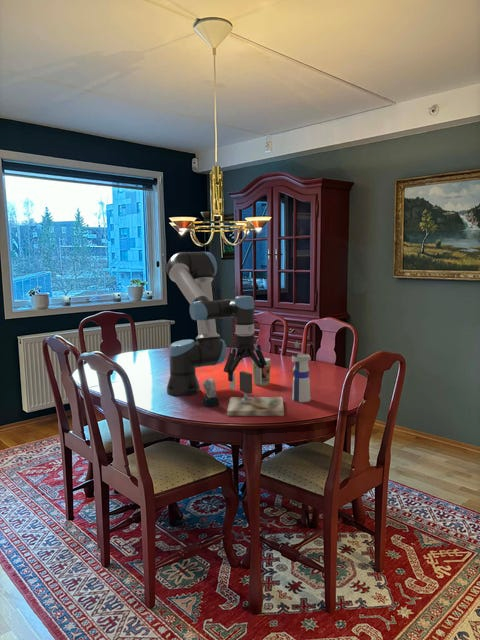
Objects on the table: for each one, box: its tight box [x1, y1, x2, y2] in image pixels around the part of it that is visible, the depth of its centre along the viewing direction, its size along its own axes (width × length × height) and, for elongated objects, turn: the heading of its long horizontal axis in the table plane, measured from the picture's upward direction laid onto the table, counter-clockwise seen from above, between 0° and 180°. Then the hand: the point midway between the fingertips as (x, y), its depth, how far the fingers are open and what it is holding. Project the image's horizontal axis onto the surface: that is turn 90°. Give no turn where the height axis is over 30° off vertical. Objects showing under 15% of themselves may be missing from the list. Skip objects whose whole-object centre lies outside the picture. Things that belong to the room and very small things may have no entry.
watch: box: [202, 378, 220, 408], centre depth 202 cm, size 6×8×11 cm
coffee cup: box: [251, 357, 272, 387], centre depth 233 cm, size 9×9×12 cm
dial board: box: [226, 396, 285, 417], centre depth 197 cm, size 22×18×2 cm
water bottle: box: [291, 340, 312, 403], centre depth 206 cm, size 8×9×25 cm
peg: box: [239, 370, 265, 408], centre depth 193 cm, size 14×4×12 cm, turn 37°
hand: (246, 386), depth 197 cm, fingers open, 13 cm apart
